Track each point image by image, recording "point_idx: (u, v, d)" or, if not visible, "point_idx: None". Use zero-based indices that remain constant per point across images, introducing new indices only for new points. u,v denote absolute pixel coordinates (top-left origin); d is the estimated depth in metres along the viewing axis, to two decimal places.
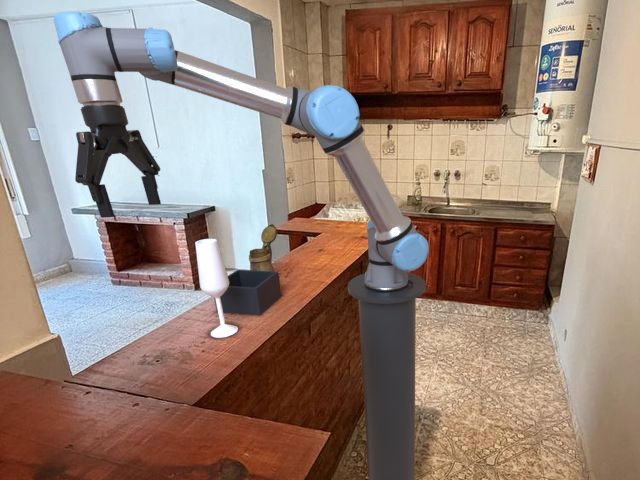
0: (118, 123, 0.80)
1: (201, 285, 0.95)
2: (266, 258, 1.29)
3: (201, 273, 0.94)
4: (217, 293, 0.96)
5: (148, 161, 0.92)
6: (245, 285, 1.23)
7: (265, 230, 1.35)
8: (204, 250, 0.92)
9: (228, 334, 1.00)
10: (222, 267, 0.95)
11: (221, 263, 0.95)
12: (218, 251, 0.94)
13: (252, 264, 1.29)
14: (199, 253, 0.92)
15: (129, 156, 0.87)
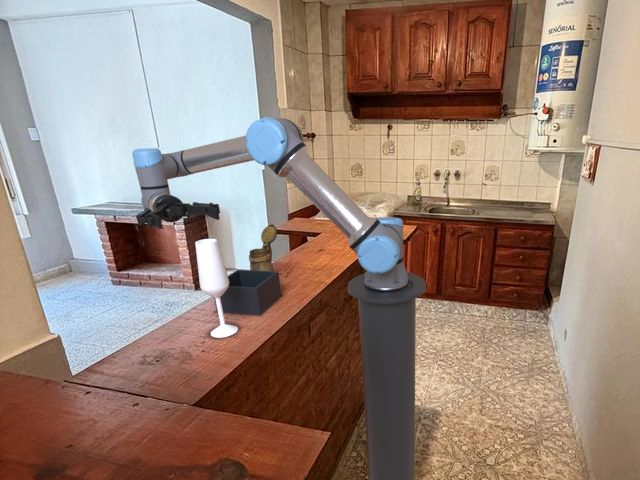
0: (164, 196, 1.09)
1: (201, 285, 0.95)
2: (266, 258, 1.29)
3: (201, 273, 0.94)
4: (217, 293, 0.96)
5: None
6: (245, 285, 1.23)
7: (265, 230, 1.35)
8: (204, 250, 0.92)
9: (228, 334, 1.00)
10: (222, 267, 0.95)
11: (221, 263, 0.95)
12: (218, 251, 0.94)
13: (252, 264, 1.29)
14: (199, 253, 0.92)
15: (191, 211, 1.09)
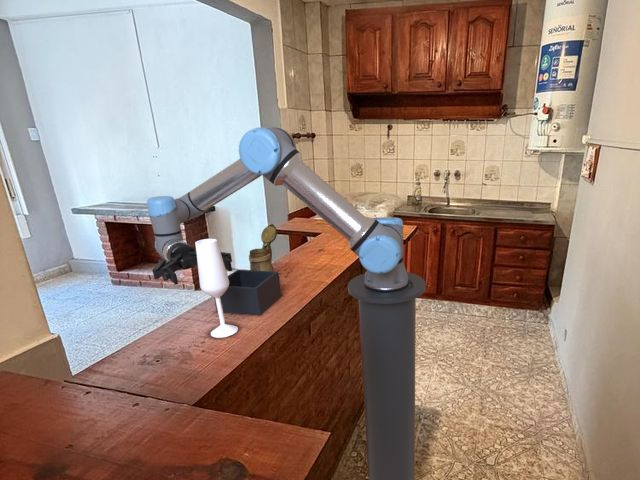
0: (177, 246, 1.13)
1: (201, 285, 0.95)
2: (266, 258, 1.29)
3: (201, 273, 0.94)
4: (217, 293, 0.96)
5: None
6: (245, 285, 1.23)
7: (265, 230, 1.35)
8: (204, 250, 0.92)
9: (228, 334, 1.00)
10: (222, 267, 0.95)
11: (221, 263, 0.95)
12: (218, 251, 0.94)
13: (252, 264, 1.29)
14: (199, 253, 0.92)
15: None
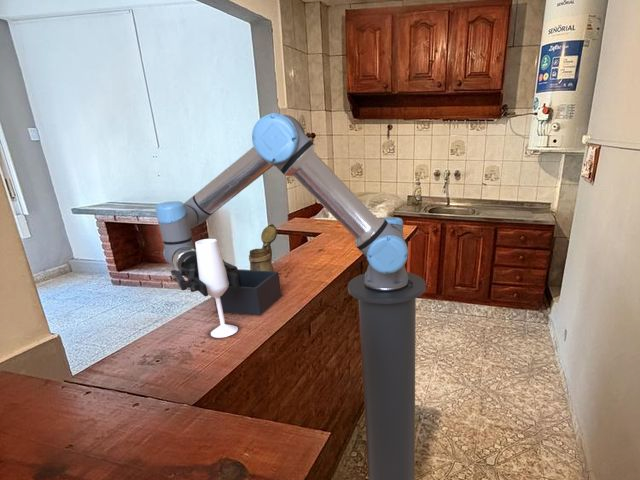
0: (189, 255, 1.05)
1: None
2: (266, 258, 1.29)
3: (201, 273, 0.94)
4: (217, 293, 0.96)
5: None
6: (245, 285, 1.23)
7: (265, 230, 1.35)
8: (204, 250, 0.92)
9: (228, 334, 1.00)
10: (222, 267, 0.95)
11: (221, 263, 0.95)
12: (218, 251, 0.94)
13: (252, 264, 1.29)
14: (199, 253, 0.92)
15: None
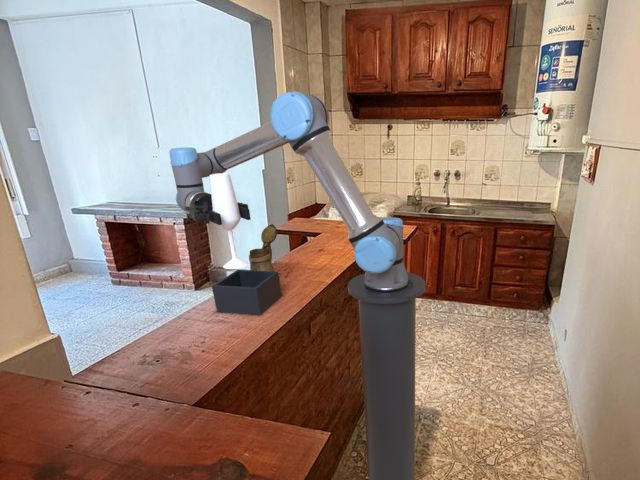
0: (202, 194, 1.11)
1: None
2: (266, 258, 1.29)
3: (215, 204, 0.99)
4: (230, 225, 1.02)
5: None
6: (245, 285, 1.23)
7: (265, 230, 1.35)
8: (218, 181, 0.98)
9: (239, 266, 1.06)
10: (234, 200, 1.01)
11: (233, 196, 1.01)
12: (231, 184, 1.00)
13: (252, 264, 1.29)
14: (213, 184, 0.98)
15: None
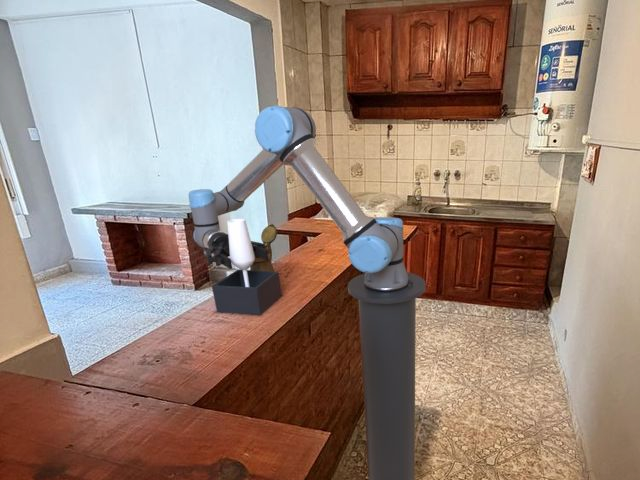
0: (219, 235, 1.21)
1: (232, 258, 1.10)
2: None
3: (232, 248, 1.09)
4: (245, 266, 1.11)
5: None
6: None
7: (265, 230, 1.35)
8: (235, 228, 1.07)
9: None
10: (249, 243, 1.11)
11: (249, 240, 1.10)
12: (246, 229, 1.09)
13: (252, 264, 1.29)
14: (230, 230, 1.07)
15: None
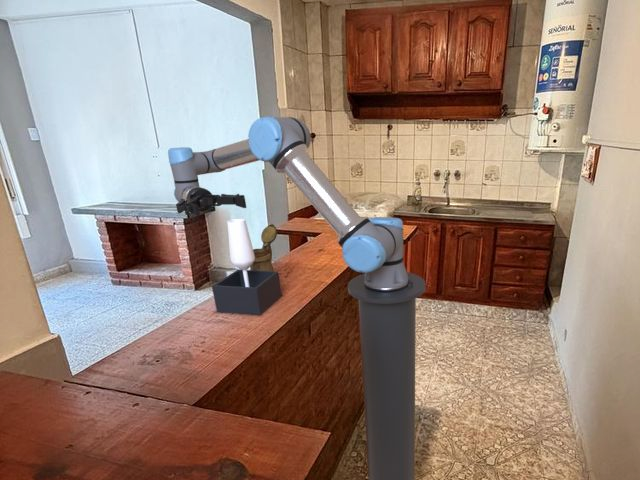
0: (196, 189, 1.25)
1: (232, 258, 1.10)
2: (266, 258, 1.29)
3: (232, 248, 1.09)
4: (245, 266, 1.11)
5: None
6: None
7: (265, 230, 1.35)
8: (235, 228, 1.07)
9: None
10: (249, 243, 1.11)
11: (249, 240, 1.10)
12: (246, 229, 1.09)
13: (252, 264, 1.29)
14: (231, 230, 1.07)
15: (220, 202, 1.25)
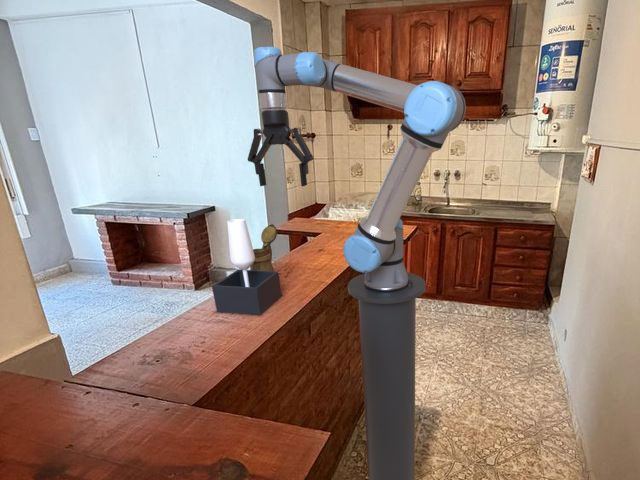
0: (267, 123, 1.12)
1: (232, 258, 1.10)
2: (266, 258, 1.29)
3: (232, 248, 1.09)
4: (245, 266, 1.11)
5: None
6: None
7: (265, 230, 1.35)
8: (235, 228, 1.07)
9: None
10: (249, 243, 1.11)
11: (249, 240, 1.10)
12: (246, 229, 1.09)
13: (252, 264, 1.29)
14: (231, 230, 1.07)
15: None
